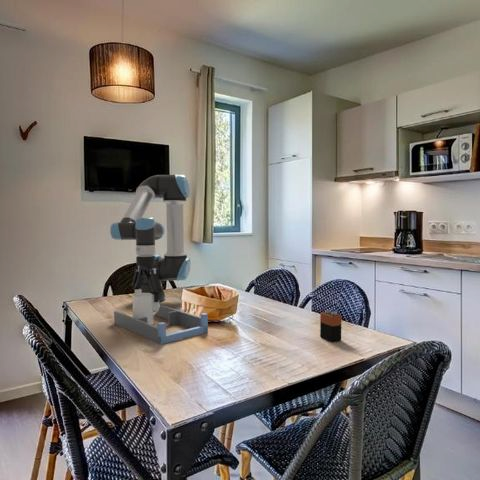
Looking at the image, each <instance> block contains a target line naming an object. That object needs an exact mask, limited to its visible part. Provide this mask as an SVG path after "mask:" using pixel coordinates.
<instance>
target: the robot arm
mask: <svg viewBox="0 0 480 480" xmlns="http://www.w3.org/2000/svg"><path fill="white" fill-rule="evenodd" d="M190 192H191V190H190V184H189V181H188V179H187V177H186V176H185V175H184V174H156V175H153V176H150V177H147V179H145V180H143V181H142V182H141V183H140V184H139V185H138V187H136V190H135V196H134V197H133V199H132V201H131V202H130V205H129V206H128V208H127V210H126V212H125V213H124V215H123V217H121V220H120V221H118V222H117V221H116V222H113V223H112V224H111V225H110V229H109V233H110V237H111V238H112V239H113V240H118V241H119V240H120V241H135V250H136V251H135V252H136V253H135V254H136V258H135V259H136V262H135V263H136V266H134V275H133V278H132V282H131V288H133V290H134V294H138V293H151V294H152V311H153V312H155V310H159V303H160V302H164V301H165V300H166V293H165V291H164V288H163V285H162V281H176V282H179V281H186V280H187V279H188V277H189V275H190V272H191V265H192V264H191V259H190V257H188V254H187V253H186V252H185V248H184V247H185V245H184V242H185V241H184V237H185V235H184V227H185V226H184V204H186V202H187V199H188V198H190V194H191V193H190ZM155 199H162V201H163V203H164V204H165V205H166V206H165V207H166V212H165V213H166V215H165V216H166V252H165V253H164V254H163V257H162V255H161V254H156V241H157V240H160V239H162V237H163V236H164V235H165V227H164V225H163V224H162V223H160V222H157V221H155V218H154V217H144V215H145V212H146V211H147V209H148V207H149V205H150V203H152V202H153V201H154V200H155Z"/></svg>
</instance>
